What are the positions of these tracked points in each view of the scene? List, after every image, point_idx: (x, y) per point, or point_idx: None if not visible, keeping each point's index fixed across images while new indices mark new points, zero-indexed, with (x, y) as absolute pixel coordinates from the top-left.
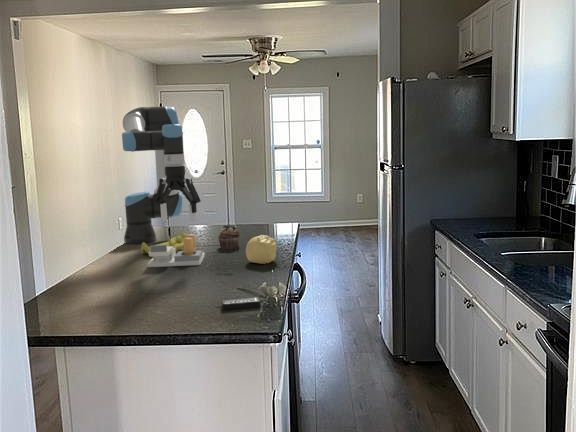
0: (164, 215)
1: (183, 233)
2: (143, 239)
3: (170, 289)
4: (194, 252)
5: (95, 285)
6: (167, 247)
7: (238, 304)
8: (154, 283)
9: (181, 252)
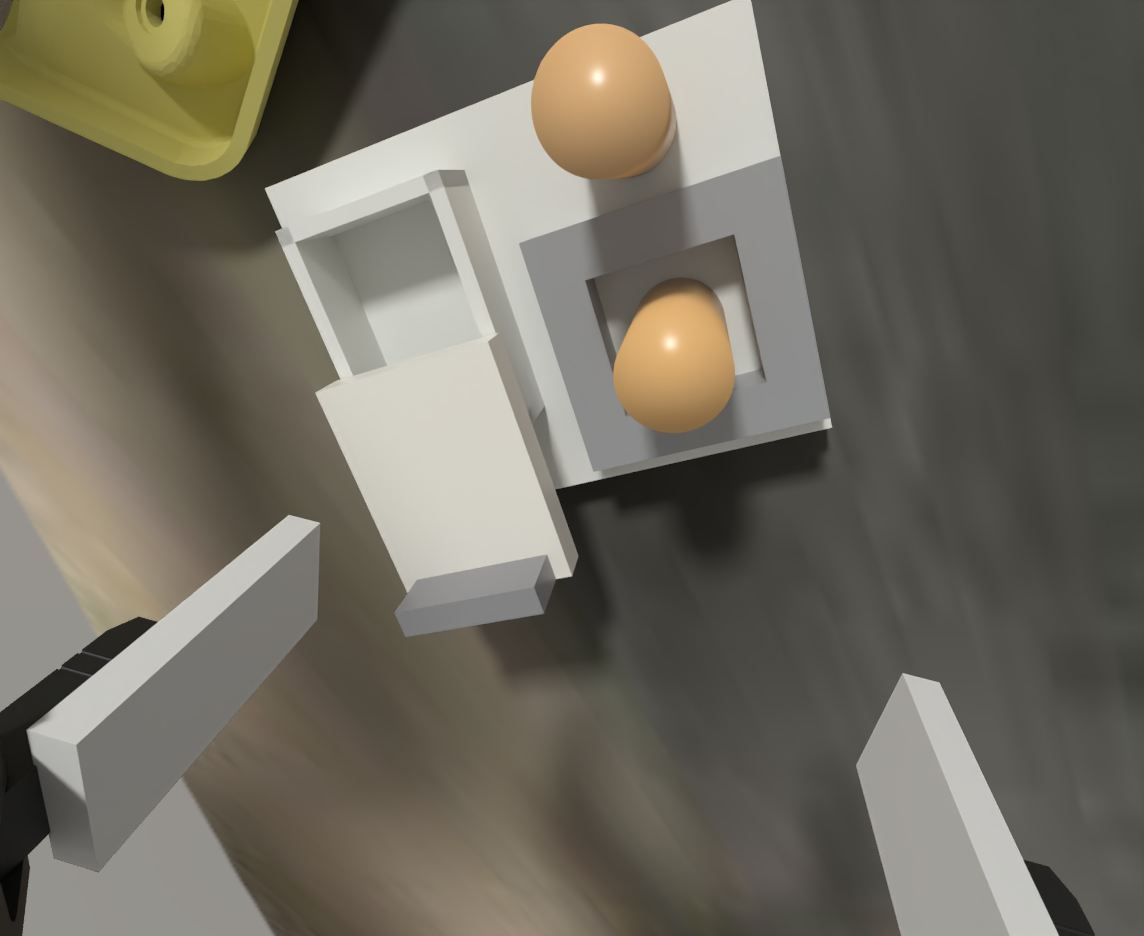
0: (270, 629)
1: None
2: None
3: (831, 928)
4: (709, 240)
5: (392, 850)
6: (461, 404)
7: None
8: (686, 838)
9: (581, 299)
